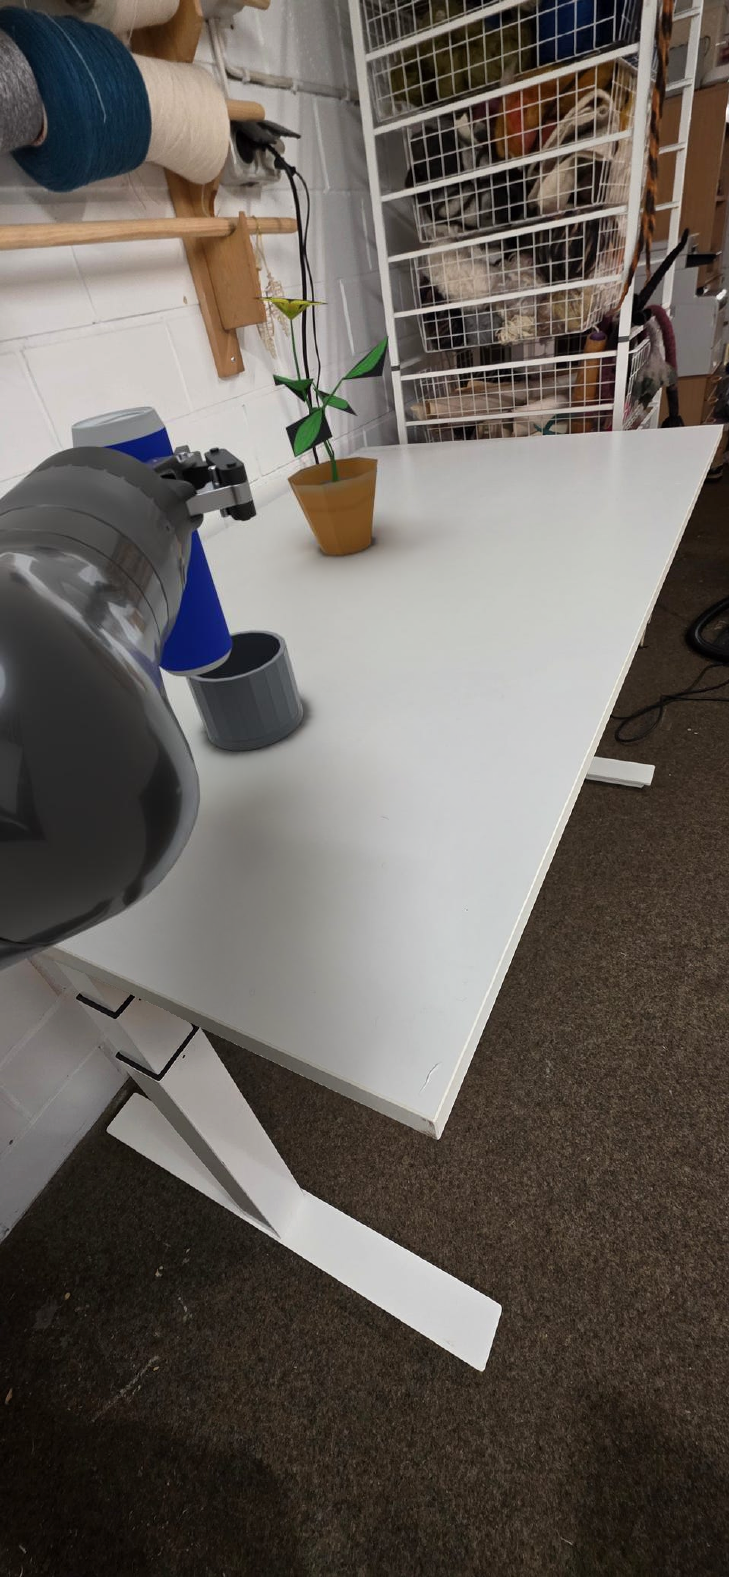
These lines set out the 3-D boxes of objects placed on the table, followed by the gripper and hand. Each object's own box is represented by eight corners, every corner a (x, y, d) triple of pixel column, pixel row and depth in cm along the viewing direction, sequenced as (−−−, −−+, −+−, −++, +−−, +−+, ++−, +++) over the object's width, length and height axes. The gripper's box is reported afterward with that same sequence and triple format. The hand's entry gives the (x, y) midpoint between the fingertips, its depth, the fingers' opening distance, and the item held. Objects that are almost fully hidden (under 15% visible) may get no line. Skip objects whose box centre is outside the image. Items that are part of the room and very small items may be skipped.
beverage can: (196, 639, 49) (116, 408, 40) (250, 647, 46) (178, 402, 37) (145, 674, 46) (46, 431, 37) (200, 684, 43) (108, 426, 34)
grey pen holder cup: (210, 761, 58) (184, 692, 54) (205, 711, 65) (182, 646, 61) (310, 734, 59) (292, 663, 55) (295, 687, 66) (278, 621, 62)
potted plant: (372, 574, 86) (325, 284, 67) (260, 566, 95) (191, 309, 77) (435, 524, 97) (410, 263, 78) (329, 521, 106) (284, 287, 88)
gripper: (235, 429, 25) (239, 379, 39) (-138, 508, 25) (-5, 431, 39) (282, 614, 30) (271, 512, 44) (-34, 682, 30) (53, 559, 43)
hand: (141, 474), depth 41 cm, fingers closed on beverage can, 5 cm apart
